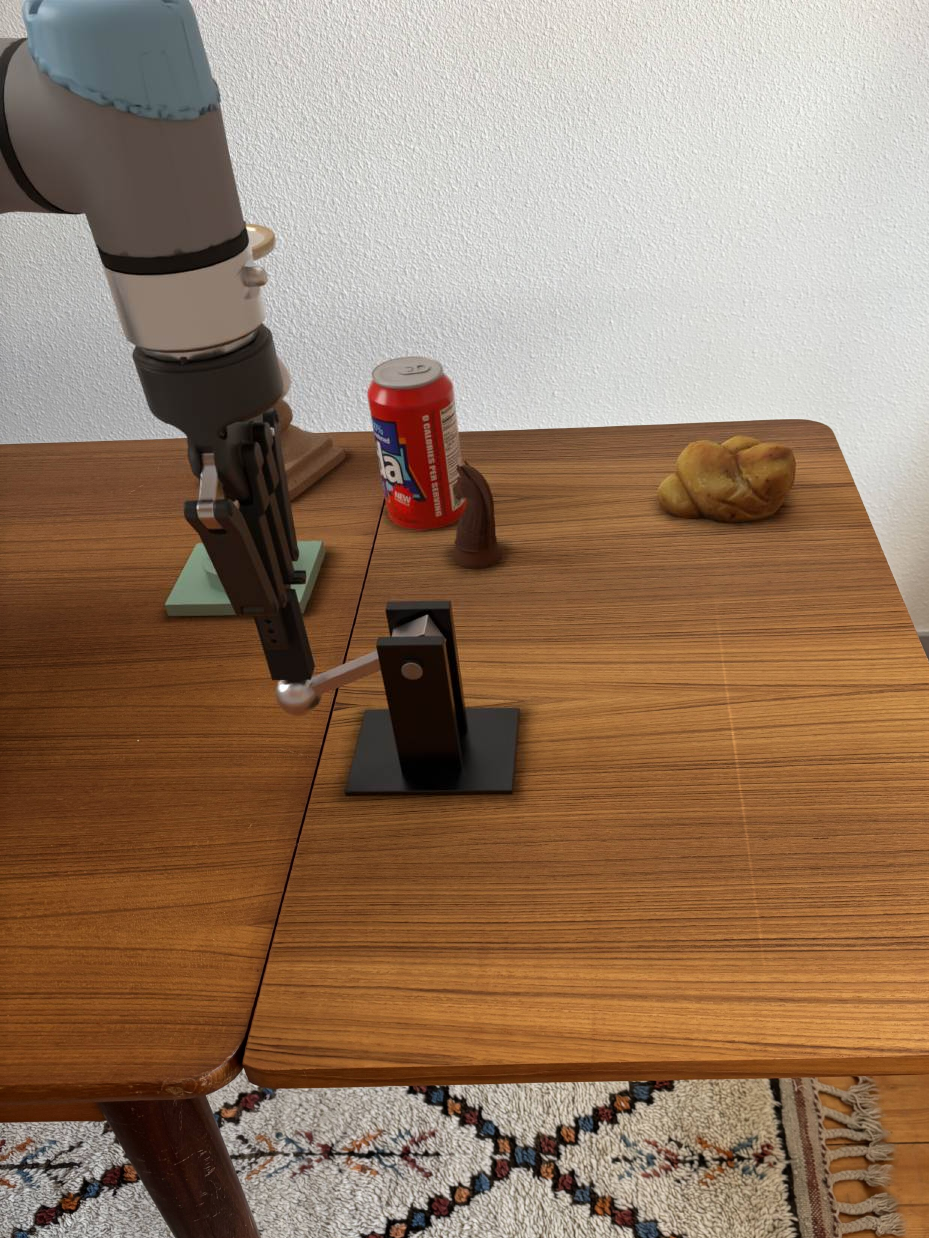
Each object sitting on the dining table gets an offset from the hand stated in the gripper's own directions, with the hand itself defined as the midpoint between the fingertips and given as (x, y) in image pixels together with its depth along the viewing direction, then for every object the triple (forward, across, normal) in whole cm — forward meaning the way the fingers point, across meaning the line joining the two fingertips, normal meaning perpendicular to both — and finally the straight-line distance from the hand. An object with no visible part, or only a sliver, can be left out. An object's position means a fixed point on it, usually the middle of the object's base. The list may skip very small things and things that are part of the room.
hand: (293, 673), depth 73 cm
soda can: (+9, +36, -4) cm, 37 cm away
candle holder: (+9, +44, +13) cm, 47 cm away
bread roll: (+9, +36, -33) cm, 50 cm away
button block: (+9, +23, +11) cm, 27 cm away
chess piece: (+9, +27, -10) cm, 30 cm away
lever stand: (+9, 0, -9) cm, 13 cm away
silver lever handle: (+1, 0, -5) cm, 5 cm away
